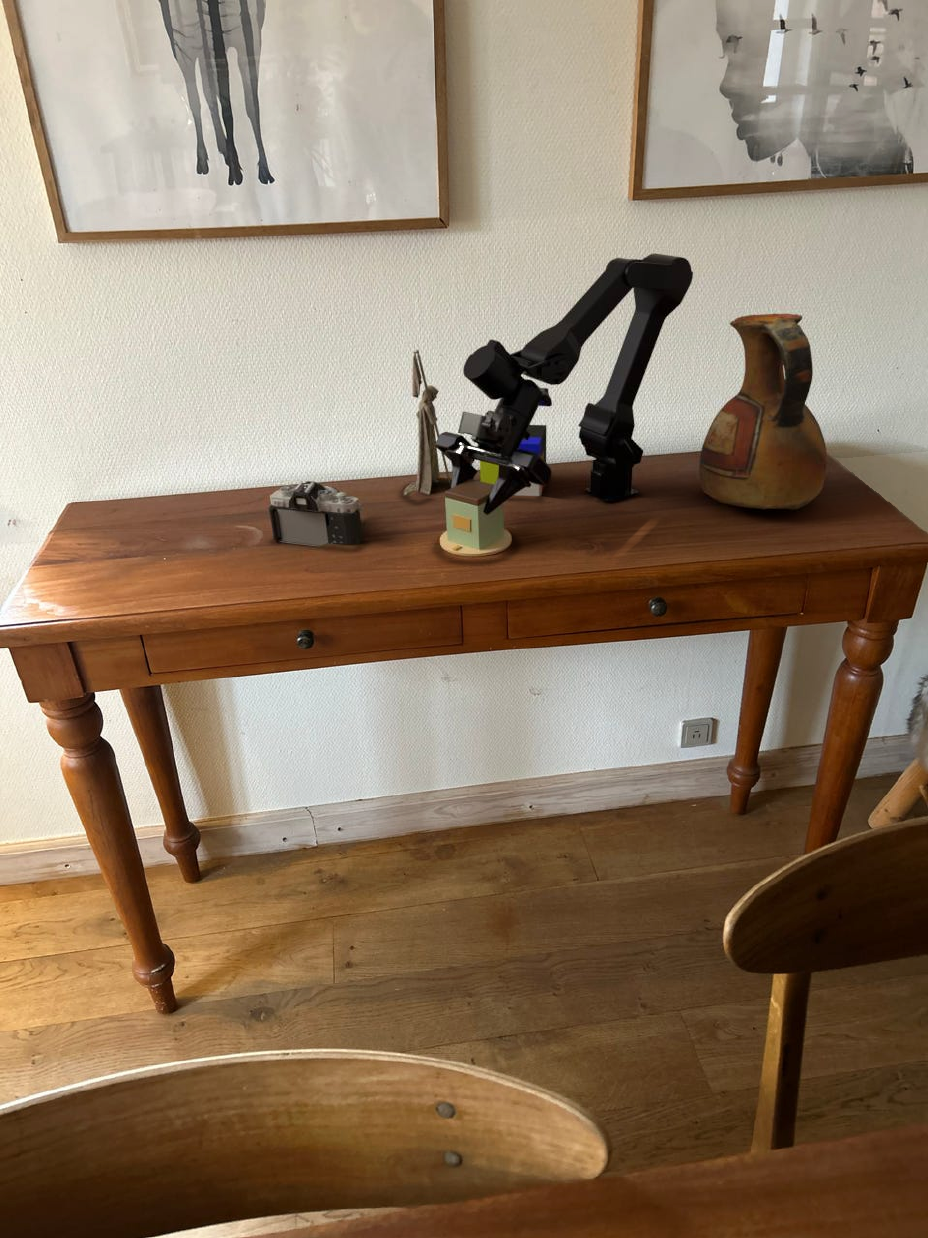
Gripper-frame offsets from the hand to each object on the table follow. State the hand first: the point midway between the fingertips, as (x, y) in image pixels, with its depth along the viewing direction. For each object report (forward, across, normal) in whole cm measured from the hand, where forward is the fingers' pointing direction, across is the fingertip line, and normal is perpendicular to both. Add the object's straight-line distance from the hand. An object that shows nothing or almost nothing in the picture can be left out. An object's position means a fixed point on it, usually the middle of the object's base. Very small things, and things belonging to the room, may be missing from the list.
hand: (468, 508), depth 133 cm
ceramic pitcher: (-25, +27, +35) cm, 50 cm away
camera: (+12, -22, -2) cm, 25 cm away
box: (+3, 0, +5) cm, 6 cm away
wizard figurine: (-5, -21, +15) cm, 26 cm away
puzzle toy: (-12, -10, +22) cm, 26 cm away
